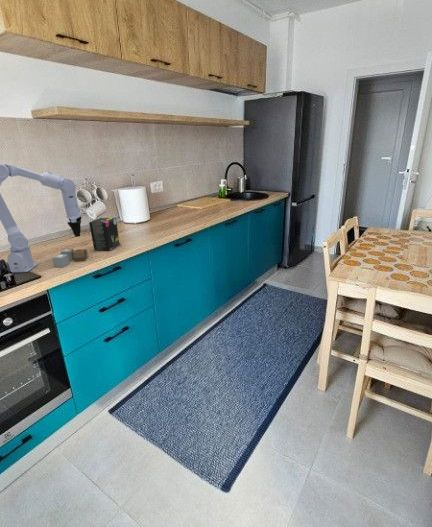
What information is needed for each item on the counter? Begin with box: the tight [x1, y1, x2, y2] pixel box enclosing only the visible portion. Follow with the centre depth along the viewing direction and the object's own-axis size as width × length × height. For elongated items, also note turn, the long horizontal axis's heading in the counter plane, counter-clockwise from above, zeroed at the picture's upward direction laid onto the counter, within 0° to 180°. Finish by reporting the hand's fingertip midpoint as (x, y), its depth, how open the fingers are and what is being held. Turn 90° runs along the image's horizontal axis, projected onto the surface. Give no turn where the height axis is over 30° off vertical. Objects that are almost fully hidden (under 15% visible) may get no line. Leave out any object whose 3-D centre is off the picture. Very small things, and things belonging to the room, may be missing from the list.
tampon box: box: [88, 217, 120, 252], centre depth 158 cm, size 11×9×15 cm
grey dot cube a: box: [59, 248, 75, 262], centre depth 145 cm, size 4×4×5 cm
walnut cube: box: [73, 248, 89, 263], centre depth 143 cm, size 4×4×4 cm
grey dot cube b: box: [51, 253, 71, 269], centre depth 137 cm, size 4×4×5 cm
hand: (78, 234), depth 147 cm, fingers open, 7 cm apart
